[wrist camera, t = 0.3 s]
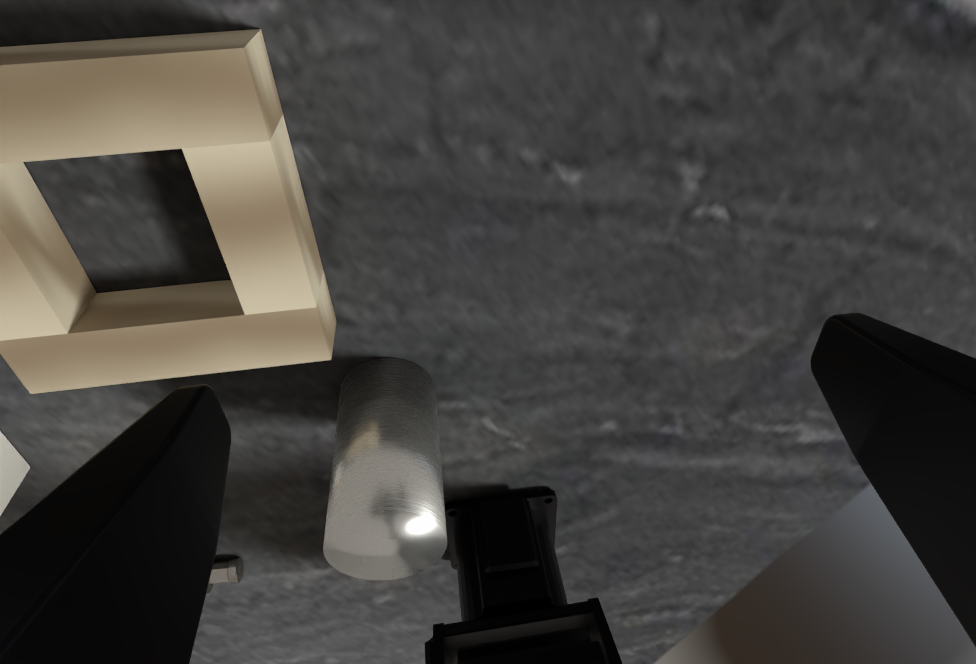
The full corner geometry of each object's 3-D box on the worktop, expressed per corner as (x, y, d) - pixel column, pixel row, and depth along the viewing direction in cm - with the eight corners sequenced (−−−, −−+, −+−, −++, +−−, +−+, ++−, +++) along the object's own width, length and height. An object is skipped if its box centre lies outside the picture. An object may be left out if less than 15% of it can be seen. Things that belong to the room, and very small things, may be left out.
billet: (439, 419, 28) (452, 571, 22) (350, 430, 28) (337, 587, 22) (430, 352, 26) (441, 503, 19) (331, 363, 25) (310, 520, 19)
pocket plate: (336, 321, 24) (331, 360, 22) (61, 350, 23) (30, 393, 21) (261, 29, 17) (243, 47, 15) (-134, 56, 16) (-205, 79, 14)
